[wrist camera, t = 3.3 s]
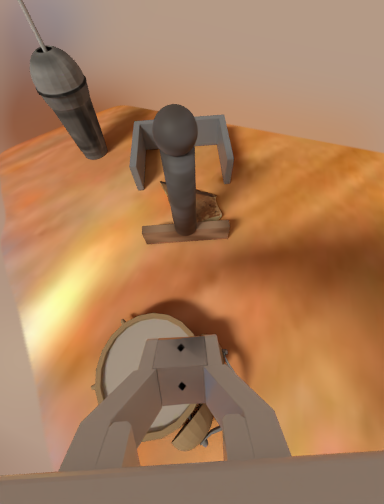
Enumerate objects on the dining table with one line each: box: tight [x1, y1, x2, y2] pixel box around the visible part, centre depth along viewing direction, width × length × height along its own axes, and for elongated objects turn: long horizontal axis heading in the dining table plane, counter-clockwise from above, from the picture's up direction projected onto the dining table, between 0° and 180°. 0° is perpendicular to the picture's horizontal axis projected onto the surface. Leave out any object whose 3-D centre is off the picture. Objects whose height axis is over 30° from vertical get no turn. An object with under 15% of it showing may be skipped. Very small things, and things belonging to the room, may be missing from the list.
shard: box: [160, 181, 222, 222], centre depth 35 cm, size 11×8×2 cm
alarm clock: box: [91, 313, 234, 451], centre depth 22 cm, size 11×5×15 cm
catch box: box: [130, 115, 234, 190], centre depth 37 cm, size 16×12×5 cm
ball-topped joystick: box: [142, 104, 230, 244], centre depth 23 cm, size 12×4×18 cm, turn 94°
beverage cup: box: [18, 0, 107, 159], centre depth 33 cm, size 7×7×20 cm
